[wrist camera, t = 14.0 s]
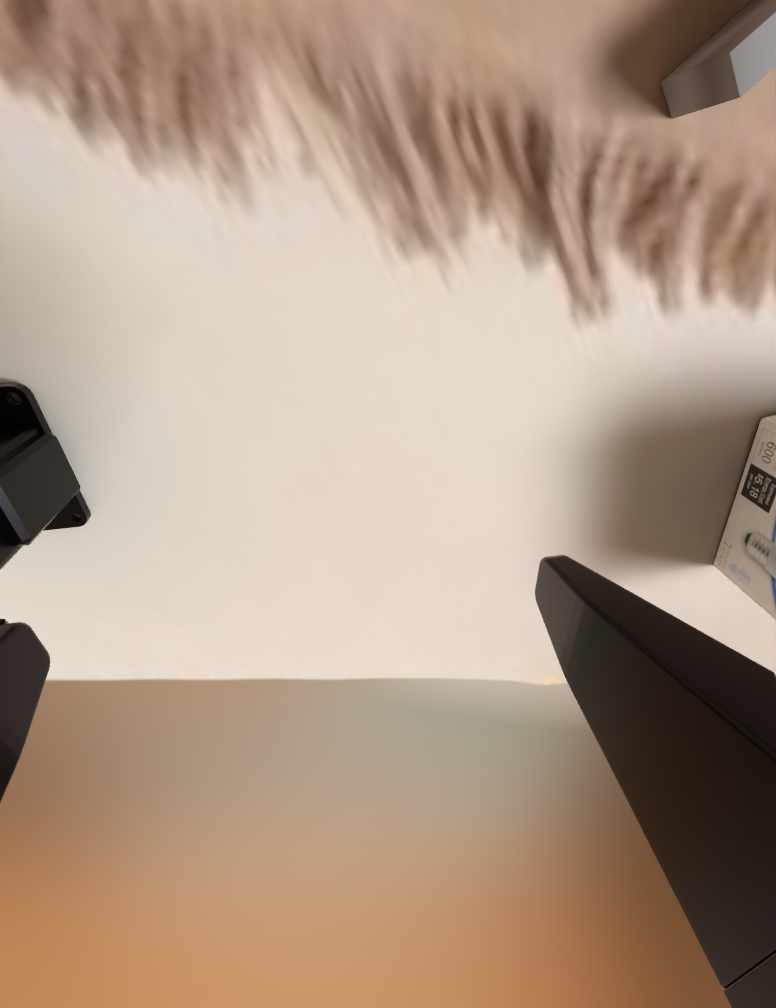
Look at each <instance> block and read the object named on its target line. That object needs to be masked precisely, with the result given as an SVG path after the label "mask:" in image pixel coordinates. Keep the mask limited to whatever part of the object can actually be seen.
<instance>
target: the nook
mask: <svg viewBox="0 0 776 1008" xmlns="http://www.w3.org/2000/svg"><path fill="white" fill-rule="evenodd" d="M775 67H776V0H752V1H751V2H750V3H748V4H747V5H746V6H745V7H744V8H743V9H742V10H741V11H739V12H738V13H737V14H736V15H735V16H734V17H733V18H732V19H731V20H729V21H728V22H727V23H726V24H725V25H724V26H723V27H722V28H721V29H719V30H718V31H717V32H716V33H715V34H714V35H713V36H712V37H711V38H709V39H708V40H707V41H706V42H705V43H704V44H703V45H702V46H701V47H699V48H698V49H697V50H696V51H695V52H694V53H693V54H692V55H690V56H689V57H688V58H687V59H686V60H685V61H684V62H683V63H682V64H680V65H679V66H678V67H677V68H676V69H675V70H674V71H673V72H672V73H670V74H669V75H668V76H667V77H666V78H665V79H664V80H663V81H662V82H661V85H662V89H663V92H664V95H665V98H666V102H667V105H668V108H669V111H670V115H671V118H672V119H673V118H676V117H679V116H682V115H685V114H689V113H692V112H695V111H698V110H701V109H704V108H708V107H711V106H714V105H717V104H720V103H724V102H727V101H730V100H733V99H736V98H739V97H741V96H742V95H743V94H745V93H746V92H747V91H748V90H749V89H750V88H752V87H753V86H754V85H755V84H756V83H757V82H759V81H760V80H761V79H762V78H763V77H765V76H766V75H767V74H768V73H769V72H770V71H772V70H773V69H774V68H775Z"/></svg>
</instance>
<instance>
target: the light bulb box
mask: <svg viewBox="0 0 776 1008" xmlns="http://www.w3.org/2000/svg"><path fill="white" fill-rule="evenodd" d="M714 566H715V567H716V568H717V569H718V570H719V571H721V572H722V573H723V574H724V575H725V576H726V577H727V578H729V579H730V580H731V581H732V582H733V583H734V584H735V585H737V586H738V587H739V588H740V589H741V590H742V591H743V592H745V593H746V594H747V595H748V596H749V597H750V598H751V599H753V600H754V601H755V602H756V603H757V604H758V605H759V606H761V607H762V608H763V609H764V610H765V611H766V612H767V613H769V614H770V615H771V616H772V617H773V618H774V619H775V620H776V415H774V416H769V417H765V418H762V419H761V421H760V424H759V427H758V430H757V433H756V436H755V439H754V442H753V445H752V448H751V451H750V454H749V457H748V460H747V463H746V467H745V470H744V473H743V476H742V479H741V482H740V485H739V488H738V491H737V494H736V497H735V500H734V503H733V506H732V509H731V512H730V515H729V518H728V521H727V524H726V528H725V531H724V534H723V537H722V540H721V543H720V546H719V549H718V552H717V555H716V558H715V561H714Z"/></svg>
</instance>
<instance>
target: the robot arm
mask: <svg viewBox="0 0 776 1008" xmlns="http://www.w3.org/2000/svg"><path fill="white" fill-rule="evenodd" d="M12 393H16V394H17V395H19V396H20V398H21V400H22V402H19V401H17V400H16V399H15V398H14V397H13V395H12ZM79 489H80V485H79V483H78V481H77V479H76V476H75V474H74V472H73V470H72V468H71V466H70V464H69V462H68V460H67V458H66V456H65V454H64V452H63V449H62V447H61V445H60V443H59V441H58V439H57V437H56V436H54V435H53V434H52V432H51V430H50V428H49V426H48V424H47V422H46V420H45V418H44V415H43V413H42V411H41V409H40V407H39V405H38V403H37V401H36V399H35V397H34V395H33V393H32V392H31V391H30V389H28V388H27V387H26V386H24V385H21V384H18V383H8V384H0V570H1V569H2V568H3V567H4V565H5V564H6V563H7V562H8V561H9V560H10V559H11V558H12V557H13V556H14V555H15V554H16V553H17V552H18V551H19V549H20V548H21V547H22V546H24V545H29V544H31V543H32V542H33V540H34V539H35V538H36V537H37V536H38V535H39V534H40V533H41V532H42V531H43V530H52V529H61V528H70V527H79V526H83V525H84V524H85V523H86V522H87V521H88V520H89V519H90V516H91V513H90V510H89V508H88V506H87V504H86V502H85V500H84V498H83V496H82V494H81V492H80V490H79ZM73 513H77V514H79V516H80V517H77V516H75V515H74V514H73ZM535 597H536V602H537V605H538V607H539V610H540V612H541V615H542V618H543V620H544V623H545V626H546V628H547V631H548V634H549V636H550V639H551V642H552V644H553V647H554V650H555V652H556V655H557V658H558V660H559V663H560V666H561V668H562V670H563V673H564V675H565V678H566V680H567V682H568V684H569V686H570V688H571V690H572V692H573V694H574V696H575V698H576V700H577V702H578V704H579V706H580V708H581V710H582V712H583V714H584V716H585V718H586V720H587V722H588V724H589V726H590V728H591V730H592V732H593V734H594V736H595V738H596V739H597V742H598V744H599V745H600V747H601V749H602V751H603V753H604V755H605V757H606V759H607V761H608V763H609V765H610V767H611V769H612V771H613V773H614V775H615V777H616V779H617V781H618V783H619V785H620V787H621V789H622V791H623V793H624V795H625V797H626V799H627V801H628V803H629V805H630V807H631V809H632V811H633V812H634V815H635V817H636V818H637V821H638V823H639V825H640V827H641V828H642V830H643V832H644V834H645V836H646V838H647V840H648V842H649V844H650V846H651V848H652V850H653V852H654V854H655V856H656V858H657V860H658V862H659V864H660V866H661V868H662V870H663V872H664V874H665V875H666V878H667V880H668V882H669V884H670V886H671V888H672V890H673V891H674V894H675V896H676V898H677V900H678V902H679V904H680V906H681V908H682V910H683V911H684V914H685V916H686V917H687V919H688V921H689V923H690V925H691V927H692V929H693V931H694V933H695V935H696V937H697V939H698V941H699V943H700V945H701V947H702V949H703V951H704V953H705V955H706V957H707V959H708V961H709V963H710V965H711V967H712V969H713V971H714V973H715V975H716V977H717V979H718V981H719V983H720V985H721V986H722V987H723V988H724V993H725V995H726V997H727V999H728V1001H729V1003H730V1005H731V1007H732V1008H776V675H775V674H774V672H772V671H770V670H768V669H767V668H765V667H763V666H761V665H760V664H758V663H756V662H754V661H752V660H751V659H749V658H747V657H745V656H744V655H742V654H740V653H738V652H736V651H735V650H733V649H731V648H729V647H728V646H726V645H724V644H722V643H720V642H719V641H717V640H715V639H713V638H712V637H710V636H708V635H706V634H704V633H703V632H701V631H699V630H697V629H696V628H694V627H692V626H690V625H688V624H687V623H685V622H683V621H681V620H680V619H678V618H676V617H674V616H672V615H671V614H669V613H667V612H665V611H664V610H662V609H660V608H658V607H656V606H655V605H653V604H651V603H649V602H648V601H646V600H644V599H642V598H640V597H639V596H637V595H635V594H633V593H632V592H630V591H628V590H626V589H624V588H623V587H621V586H619V585H617V584H616V583H614V582H612V581H610V580H608V579H607V578H605V577H603V576H601V575H600V574H598V573H596V572H594V571H592V570H591V569H589V568H587V567H585V566H584V565H582V564H580V563H578V562H576V561H575V560H573V559H571V558H569V557H567V556H565V555H557V556H549V557H545V558H543V559H542V560H541V562H540V565H539V571H538V577H537V582H536V588H535ZM49 667H50V657H49V654H48V652H47V650H46V649H45V647H44V646H43V645H42V643H41V642H40V640H39V639H38V637H37V636H36V634H35V633H34V631H33V630H32V628H31V627H30V626H29V625H27V624H25V623H21V622H18V623H10V624H9V623H8V622H7V621H6V620H5V619H0V802H1V800H2V798H3V795H4V793H5V791H6V789H7V786H8V784H9V782H10V779H11V777H12V775H13V773H14V770H15V768H16V765H17V763H18V761H19V758H20V755H21V752H22V749H23V747H24V744H25V741H26V738H27V735H28V732H29V729H30V726H31V723H32V720H33V717H34V714H35V711H36V708H37V704H38V701H39V698H40V695H41V692H42V689H43V686H44V683H45V680H46V677H47V674H48V671H49Z"/></svg>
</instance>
